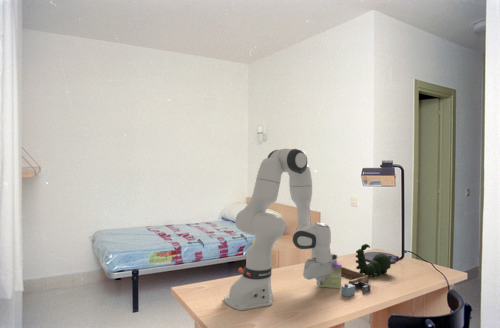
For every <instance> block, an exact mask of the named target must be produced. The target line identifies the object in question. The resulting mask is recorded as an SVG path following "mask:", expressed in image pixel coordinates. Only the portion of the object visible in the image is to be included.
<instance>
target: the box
mask: <svg viewBox="0 0 500 328" xmlns="http://www.w3.org/2000/svg"><path fill="white" fill-rule="evenodd" d="M342 267H343V265H342V262H341V261H337V264H331V274H329V275H325V279H324V282H323V285H320V286H318V287H319V288H328V289H330V288H331V289H338V290H340V289H341V288H342V275H341V270H342ZM320 278H321V277H320Z"/></svg>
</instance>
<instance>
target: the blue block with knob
mask: <svg viewBox="0 0 500 328" xmlns="http://www.w3.org/2000/svg"><path fill="white" fill-rule="evenodd" d="M340 295H341V296H342V297H345V298H348V297H350V296H351V297H352V296H353V295H354V296H355V295H356V290H355V286H354V285H352V284H349V283H344V285H341V294H340Z"/></svg>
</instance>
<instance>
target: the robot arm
mask: <svg viewBox="0 0 500 328" xmlns="http://www.w3.org/2000/svg"><path fill="white" fill-rule="evenodd" d="M283 173H287V174H288V177H289V180H288V181H289V183H288V185H289V195H290V199H291V200H292V202H293V203H294V204H295V206H296V209H297V220H298V221H297V223H298V224H297V227H296V230H295V231H294V234H293V235H292V243H293V244H294V246H295V247H296V248H297V249H299V250H310V249H311V258H307V259H306V261H305V262H304V265H303V266H304V267H303V274H302V276H303V278H304V279H306V280H307V281H308V280H309V281H310V280H314V279H315V280H316V285H317V286H318V287H319V286H320V285H323V282H324V279H325V275H329V274H331V264H337V262H338V260H337V259H338V254H336V253H333V252H331V242H332V232H331V228H330V226H329V224H326V223H324V222H320V221H317V222H314V223H311V209H310V207H311V201H312V198H313V197H312V196H313V178H312V172H311V168H310V166H309V165H308V156H307V155H306V152H305V151H304V150H302V149H300V148H299V149H298V148H282V149H275V150H272V151H271V152H270V153H268V156H267V158H264V159H263V160H262V161H261V163H260V165H259V168H258V171H257V174H256V177H255V183H254V187H253V192H252V195H251V197H250V200H249V202H248V203H247V204H246V206H244V208H243V209H241V210H240V211H239V212H238V213H237V214H236V217H235V220H234V221H235V222H234V223H235V226H236V228H237V230H239V231H241V232H243V233H245V234H247V235H251V236H255V239H254V242H253V244H251V245H249V246H248V247H247V249H246V253H245V254H246V258H245V259H246V260H245V261H246V263H245V266H244V268H242V267H239V268H238V271H237V272H239V273H241V274H242V275H241V276H240V277H238V279H237V280H236V281H234V283H233V284H231V286H230V288H229V292H228V293H229V294H228V295H226V296H224V297H223V301H224V303H225V304H226V305H227V306H229V307H230V308H233V309H234V310H238V311H244V310H245V311H246V310H252V309H256V308H257V309H258V308H262V307H268V306H271V305H273V301H274V294H273V291H272V290H273V289H272V282H271V281H272V279H271V278H272V277H271V276H272V266H271V265H272V251H273V248H274V246H275V244H276V241H278V240H279V239H281V237H282V236H283V235H284V233H285V231H286V223H285V220H284V219H283V218H282V217H281V216H279V215H277V214H274V213H272V212H271V213H270V212H266V211H267V209H268V208H269V207H270V206H271V205H273V204H274V203H276V201H277V199H278V196H279V191H280V185H281V180H282V174H283ZM320 277H321V278H320Z"/></svg>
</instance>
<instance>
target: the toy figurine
mask: <svg viewBox="0 0 500 328" xmlns="http://www.w3.org/2000/svg"><path fill="white" fill-rule="evenodd" d="M367 248H368V249H370V248H371V246H370V244H367V243H365V244H363V245H361V247H360V248H359V249H358V250H356V251H355V253H356V254H355V258H356V259H355V263H356V264H358V265H356V270H359V273H362V274H365V275H367V276H368V277H369V276H370V277H371V278H374V277H376V275H377V276H381V275H382V274H387V272H388V270H389V269H391V264H392V262H391V259H392V257H393V256H392V255H387V254H385V253H381V252H380V253H377V254H375V255H374V256H373V258H372V260H371V261H369V263H367V261H366V256H365V250H366V249H367Z"/></svg>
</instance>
